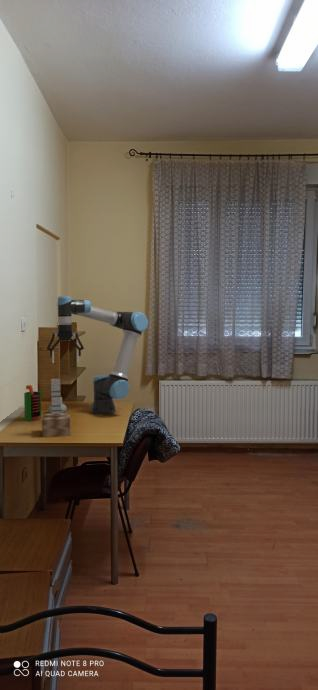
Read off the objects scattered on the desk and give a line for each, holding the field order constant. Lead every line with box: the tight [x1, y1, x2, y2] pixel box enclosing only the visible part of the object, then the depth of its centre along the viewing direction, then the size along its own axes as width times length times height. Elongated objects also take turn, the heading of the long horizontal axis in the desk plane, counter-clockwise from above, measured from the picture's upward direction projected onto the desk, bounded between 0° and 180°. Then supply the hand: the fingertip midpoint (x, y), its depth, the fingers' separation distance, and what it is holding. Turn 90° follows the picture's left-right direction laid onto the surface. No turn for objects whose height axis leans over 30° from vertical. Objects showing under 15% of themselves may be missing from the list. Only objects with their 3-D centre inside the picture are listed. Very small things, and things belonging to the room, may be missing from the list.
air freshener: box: [48, 396, 68, 414], centre depth 317 cm, size 11×8×10 cm
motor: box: [23, 384, 42, 422], centre depth 301 cm, size 10×9×20 cm
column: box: [50, 378, 62, 417], centre depth 268 cm, size 5×5×20 cm
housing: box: [41, 412, 71, 438], centre depth 269 cm, size 14×14×10 cm
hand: (65, 362), depth 287 cm, fingers open, 13 cm apart
